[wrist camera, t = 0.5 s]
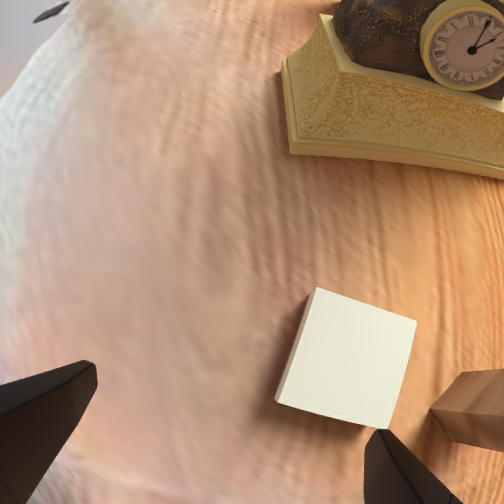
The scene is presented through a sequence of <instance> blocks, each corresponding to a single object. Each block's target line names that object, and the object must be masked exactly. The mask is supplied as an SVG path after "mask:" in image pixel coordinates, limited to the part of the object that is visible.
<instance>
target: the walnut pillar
mask: <svg viewBox="0 0 504 504" xmlns="http://www.w3.org/2000/svg"><path fill="white" fill-rule="evenodd" d="M430 409H431V410H432V412H433V413H434V415H435V416H436V418H437V420H438V421H439V423H440V424H441V426H442V427H443V429H444V430H445V432H446V434H447V435H448V437H449V438H450V440H451V441H454V442H459V443H463V444H467V445H471V446H476V447H480V448H485V449H490V450H495V451H500V452H504V369H496V370H485V371H472V372H461V374H460V375H459V376H458V377H457V378H456V380H455V381H454V382H453V383H452V384H451V385H450V387H449V388H448V389H447V390H446V391H445V392H444V393H443V395H442V396H441V397H440V398H439V399H438V400H437V401H436V402H435V403H434V404H433V405H432V407H431V408H430Z"/></svg>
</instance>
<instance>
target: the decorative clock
mask: <svg viewBox="0 0 504 504" xmlns="http://www.w3.org/2000/svg"><path fill="white" fill-rule="evenodd" d="M281 77H282V86H283V94H284V103H285V112H286V121H287V131H288V141H289V151H290V154H292V155H313V156H329V157H343V158H356V159H367V160H377V161H386V162H395V163H404V164H412V165H419V166H426V167H433V168H440V169H446V170H453V171H459V172H464V173H470V174H476V175H481V176H486V177H491V178H496V179H501V180H504V0H346V1H345V2H344V3H343V4H342V5H341V6H340V7H339V8H338V9H337V10H336V11H335V13H334V16H332V15H325V14H319V18H318V23H317V26H316V28H315V30H314V32H313V34H312V36H311V37H310V39H309V40H308V41H307V42H306V43H305V44H304V45H303V46H302V47H301V48H299V49H298V50H296V51H295V52H293V53H292V54H290V55H289V56H288V57H287V59H282V65H281Z"/></svg>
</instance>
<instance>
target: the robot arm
mask: <svg viewBox="0 0 504 504" xmlns="http://www.w3.org/2000/svg"><path fill="white" fill-rule="evenodd" d="M97 385H98V381H97V371H96V365H95V364H94V363H92V362H89V361H87V360H81V361H78V362H75V363H72V364H69V365H66V366H63V367H59V368H56V369H53V370H50V371H47V372H43V373H40V374H37V375H34V376H30V377H27V378H24V379H20V380H17V381H13V382H10V383H6V384H3V385H0V504H26V503H27V501H28V500H29V498H30V496H31V495H32V493H33V492H34V490H35V488H36V487H37V485H38V484H39V482H40V481H41V479H42V478H43V476H44V474H45V473H46V471H47V470H48V468H49V467H50V465H51V464H52V462H53V461H54V459H55V458H56V456H57V455H58V453H59V452H60V450H61V449H62V447H63V446H64V444H65V443H66V441H67V440H68V438H69V437H70V435H71V434H72V432H73V431H74V429H75V428H76V426H77V425H78V423H79V421H80V420H81V418H82V416H83V414H84V412H85V410H86V408H87V406H88V404H89V402H90V400H91V398H92V397H93V395H94V393H95V391H96V389H97ZM364 502H365V504H463V503H462V502H461V501H460V500H459V499H458V498H457V497H456V496H455V495H454V494H453V493H452V494H451V491H450V490H449V489H448V488H447V487H446V486H445V485H444V484H443V483H442V482H441V481H440V480H439V479H438V478H437V477H436V476H435V475H434V474H433V473H432V472H431V471H430V470H429V469H428V468H427V467H426V466H425V465H424V464H423V463H422V462H421V461H420V460H419V459H418V458H417V457H416V456H415V455H414V454H413V453H412V452H411V451H410V450H409V449H408V448H407V447H406V446H405V445H404V444H403V443H402V442H401V441H400V440H399V439H398V438H397V437H396V436H395V435H394V434H393V433H392V432H391V431H390V430H389V429H380V428H379V429H376V430H375V431H374V433H373V435H372V436H371V438H370V439H369V441H368V443H367V444H366V447H365V454H364Z"/></svg>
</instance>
